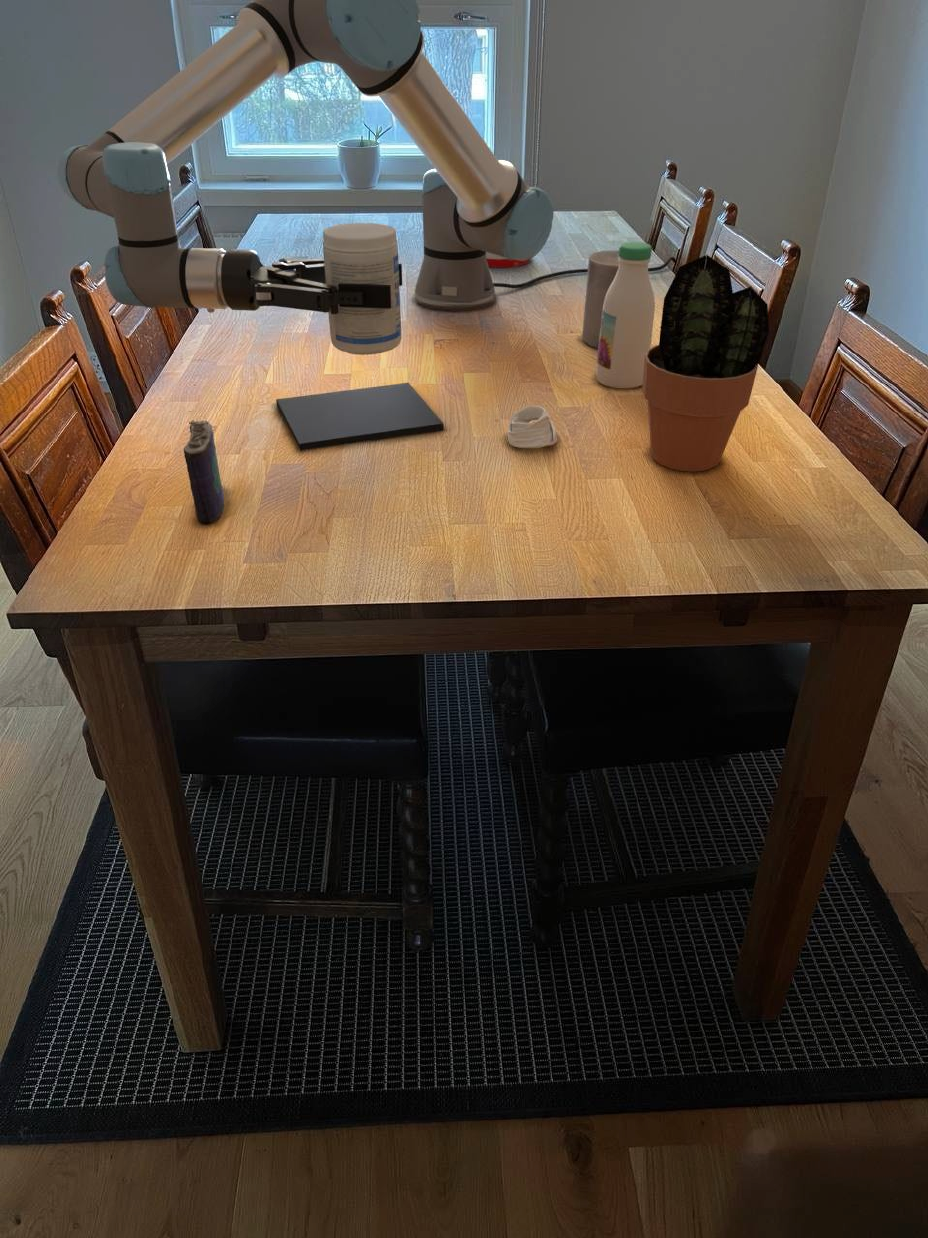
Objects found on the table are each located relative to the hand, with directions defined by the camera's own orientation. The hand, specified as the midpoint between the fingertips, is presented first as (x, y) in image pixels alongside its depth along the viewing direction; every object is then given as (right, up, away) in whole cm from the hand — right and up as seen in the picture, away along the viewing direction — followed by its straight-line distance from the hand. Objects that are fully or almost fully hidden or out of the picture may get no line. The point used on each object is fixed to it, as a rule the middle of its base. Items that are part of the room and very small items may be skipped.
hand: (396, 285), depth 119 cm
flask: (-21, -30, -11) cm, 39 cm away
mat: (-6, -15, +10) cm, 19 cm away
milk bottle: (+33, -7, +23) cm, 41 cm away
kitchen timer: (+16, +35, +81) cm, 89 cm away
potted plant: (+38, -22, +1) cm, 44 cm away
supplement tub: (-4, -6, +5) cm, 9 cm away
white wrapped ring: (+18, -20, +4) cm, 27 cm away
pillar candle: (+34, +4, +37) cm, 51 cm away
